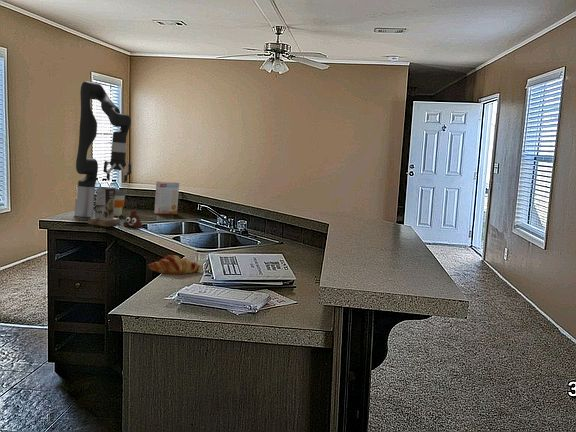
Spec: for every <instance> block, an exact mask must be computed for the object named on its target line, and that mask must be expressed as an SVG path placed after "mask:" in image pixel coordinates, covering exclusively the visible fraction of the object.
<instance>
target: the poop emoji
mask: <svg viewBox="0 0 576 432" xmlns="http://www.w3.org/2000/svg"><path fill="white" fill-rule="evenodd" d="M123 226H124V227H125V228H126V227H127V228H129V227H131V228H134V229H141V228H142V227H143V223H142V222H141V219H140V215H139V214H138V212H137V209H135V210H134V209H133V210H132V211H131V212H130V213H129V214H128V216H126V218H125V221H123Z"/></svg>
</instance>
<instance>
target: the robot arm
mask: <svg viewBox="0 0 576 432" xmlns="http://www.w3.org/2000/svg"><path fill="white" fill-rule="evenodd" d="M79 94H80V96H79V97H80V121H79V131H78V133H79V134H78V136H79V137H78V145H77V147H78V148H77V153H76V161H75V169H76V172H77V173H78V174H79V175H85V177H83V178H82V179H80V180H78V182H77V194H76V196H77V197H76V198H75V200H74V215H73V216H75V217H79V218H92V217H94V207H95V193H96V190H95V188H96V183H97V178H98V172H99V171H98V170H99V163H98V160H97V159H96V158H93V157H91V158H90V157H87V156H88V151H89V149H90V147H91V146H92V144H93V142H94V141H95V139H96V137H97V135H98V123H97V119H96V117H95V115H94V113H93V110H92V107H91V100H94V101H95V100H96V101H99V102H100V108H101V110H102V111H103V113H104V114H105V115H106V116H107V117H108V119H109V120H108V121H109V122H110V124H111V125H112V126H114V127H117V128H118V127H119V128H120V129H119V130H115V131H114V132H113V134H112V144H111V149H110V150H111V154H110V161H107V160H105V161H104V162H103V163H104V164H103V170H102V171H103V172H104V173H106V180H107V181H108V182H110V181H111V180H110V179H111V177H110V176H111V172H112V171H113V170H114V171H122V173H123V174H124V176H123V182H124V183H126V182H128V176H129V175H131V174H132V163H131V162H128V163H127V162H126V157H127V138H128V137H127V136H128V134H129V130H130V127H131V124H132V123H131V122H132V119H131V117H130V115H129V114H125V113H121V111H120V108H119V107H117V105H116V104H115V103H114V102H113V101H112V100H111V98H110V97H109V96H108V93H107V92H106V90H105V88H104V87H103V86H102V85H101V84H100V83H97V82H91V81H86V80H85V81H83V82H82V83H81V86H80V93H79ZM109 165H110V166H111V167H110V168H109V169H108V166H109ZM125 167H127V168H128V172H127V170H126V169H125ZM107 169H108V170H107Z"/></svg>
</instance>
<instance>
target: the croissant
mask: <svg viewBox="0 0 576 432" xmlns="http://www.w3.org/2000/svg"><path fill="white" fill-rule="evenodd" d="M147 268H148V269H149V270H151V271H153V272H157V273H160V274H168V275H185V274H191V273H192V274H193V273H199V272H201V271H202V270H203V266H202V265H200V264H198V263H197V262H194V261H192V260H190V259H189V258H185V257H184V258H180V257H179V255H175V254H168V255H166V256H165V257H164V258H161V259H159V260H158V261H154V262H152V263H148V264H147Z"/></svg>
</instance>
